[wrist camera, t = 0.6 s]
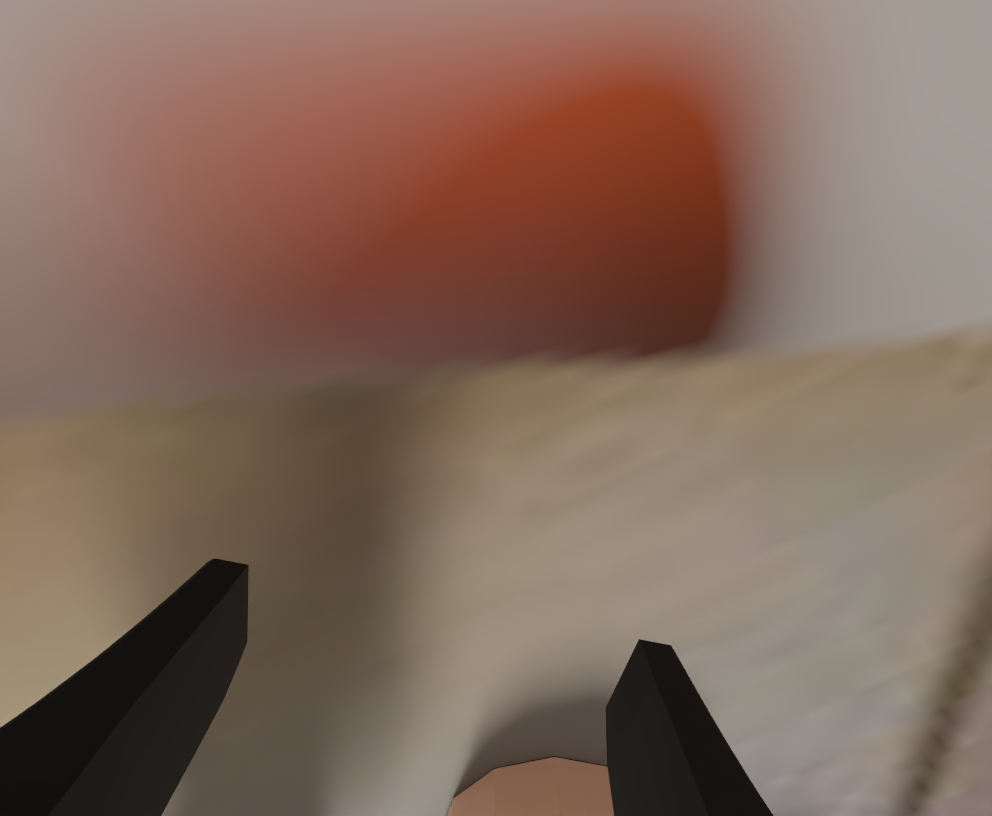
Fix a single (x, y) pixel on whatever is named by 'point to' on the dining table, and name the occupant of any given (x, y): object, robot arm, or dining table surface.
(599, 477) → the dining table surface
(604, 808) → the terracotta bowl
